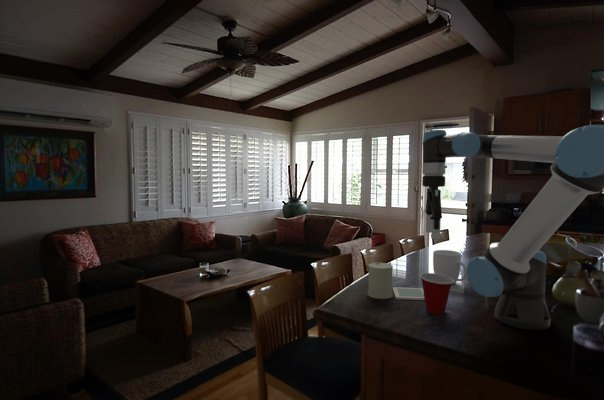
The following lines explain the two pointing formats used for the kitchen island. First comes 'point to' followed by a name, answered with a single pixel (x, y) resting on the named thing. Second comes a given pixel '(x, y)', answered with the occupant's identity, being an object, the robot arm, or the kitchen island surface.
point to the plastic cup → (436, 292)
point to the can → (380, 280)
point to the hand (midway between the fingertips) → (432, 235)
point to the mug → (448, 264)
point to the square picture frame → (409, 293)
